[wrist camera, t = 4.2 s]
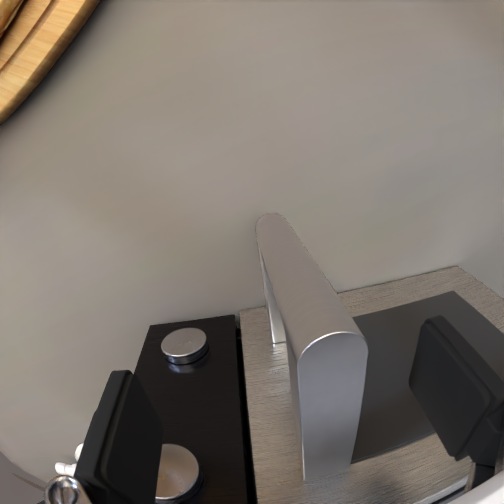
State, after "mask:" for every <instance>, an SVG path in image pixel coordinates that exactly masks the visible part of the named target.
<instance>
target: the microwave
mask: <svg viewBox="0 0 504 504" xmlns="http://www.w3.org/2000/svg"><path fill="white" fill-rule="evenodd" d="M134 374H136V375H137V377H138V378H139V380H140V382H141V384H142V386H143V388H144V390H145V392H146V394H147V396H148V398H149V400H150V402H151V403H152V405H153V407H154V409H155V411H156V412H157V414H158V416H159V418H160V420H161V421H162V423H163V426H164V437H163V444H162V451H161V458H160V465H159V473H158V481H157V489H156V497H155V504H258V503H257V494H256V485H255V476H254V466H253V457H252V447H251V437H250V427H249V416H248V406H247V395H246V384H245V373H244V362H243V350H242V339H241V329H237V324H236V319H235V315H227V316H220V317H213V318H206V319H199V320H191V321H184V322H176V323H168V324H159V325H151V326H150V327H149V330H148V333H147V336H146V339H145V342H144V345H143V348H142V351H141V354H140V357H139V360H138V363H137V366H136V369H135V372H134ZM465 486H466V485H465ZM465 486H463V487H461V488H460V489H458V490H456V491H454V492H452V493H451V494H449V495H447V496H445V497H443V498H441V499H439V500H437V501H435V502H433V503H431V504H447V503H449V502H451V501H453V500H454V499H456V498H458V497H460V496H462V495H463V493H464V490H465Z"/></svg>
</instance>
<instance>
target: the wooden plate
mask: <svg viewBox="0 0 504 504" xmlns="http://www.w3.org/2000/svg"><path fill="white" fill-rule="evenodd" d="M99 1H100V0H0V124H1V123H2V122H3V121H5V120H6V119H7V118H8V117H9V116H10V115H11V114H12V113H13V112H14V111H15V109H16V108H17V107H18V106H19V105H20V104H21V103H22V102H23V101H24V100H25V99H26V98H27V97H28V96H29V95H30V93H31V92H32V91H33V90H34V89H35V88H36V86H37V85H38V84H39V83H40V82H41V81H42V79H43V78H44V77H45V75H46V74H47V73H48V72H49V71H50V69H51V68H52V67H53V65H54V64H55V63H56V61H57V60H58V59H59V57H60V56H61V55H62V53H63V52H64V51H65V50H66V48H67V47H68V46H69V44H70V43H71V42H72V40H73V39H74V38H75V36H76V35H77V33H78V32H79V31H80V29H81V28H82V26H83V25H84V23H85V22H86V21H87V19H88V18H89V16H90V15H91V14H92V12H93V11H94V9H95V7H96V6H97V4H98V3H99Z"/></svg>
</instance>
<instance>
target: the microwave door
mask: <svg viewBox="0 0 504 504" xmlns="http://www.w3.org/2000/svg"><path fill="white" fill-rule="evenodd" d="M255 231H256V238H257V245H258V251H259V258H260V265H261V272H262V279H263V286H264V293H265V301H266V307H260V308H254V309H247V310H241V311H239V315H240V327H241V339H242V350H243V362H244V373H245V384H246V395H247V406H248V416H249V427H250V437H251V447H252V457H253V466H254V476H255V485H256V494H257V503H258V504H431V503H433V502H435V501H437V500H439V499H441V498H443V497H445V496H447V495H449V494H451V493H452V492H454V491H456V490H458V489H460V488H461V487H463V486H465V485H466V483H467V479H468V475H469V471H470V467H471V463H472V460H471V458H470V456H467V457H465V458H463V459H461V460H460V461H458V462H456V460H455V458H454V457H451V456H449V455H448V453H447V451H446V449H445V448H444V446H443V444H442V442H441V440H440V439H439V437H438V435H437V433H436V432H435V430H434V428H433V426H432V425H431V423H430V421H429V420H428V418H427V416H426V414H425V413H424V411H423V409H422V408H421V406H420V404H419V403H418V401H417V399H416V398H415V396H414V394H413V393H412V391H411V389H410V387H409V376H410V372H411V369H412V364H413V360H414V356H415V352H416V347H417V343H418V338H419V333H420V328H421V326H422V325H423V324H424V321H425V320H426V319H428V318H431V317H435V316H438V315H442V316H444V317H445V318H446V319H447V320H448V321H449V323H450V324H451V325H452V326H453V327H454V328H455V329H456V330H457V331H458V332H459V333H460V334H461V335H462V336H463V337H464V338H465V339H466V340H467V341H468V343H469V344H470V345H471V346H472V347H473V348H474V349H475V350H476V351H477V352H478V353H479V355H480V356H481V357H482V358H483V359H484V360H485V361H486V362H487V363H488V365H489V366H490V367H491V368H492V369H493V370H494V371H495V373H496V374H497V375H498V376H499V377H500V378H501V380H502V381H503V382H504V299H503V298H502V297H500V296H499V295H498V294H496V293H495V292H494V291H492V290H491V289H490V288H488V287H487V286H485V285H484V284H483V283H481V282H480V281H479V280H477V279H476V278H474V277H473V276H472V275H470V274H469V273H467V272H466V271H464V270H463V269H462V268H460V267H459V266H454V267H450V268H446V269H442V270H438V271H435V272H431V273H426V274H422V275H418V276H414V277H410V278H406V279H401V280H397V281H393V282H388V283H384V284H379V285H375V286H370V287H366V288H361V289H356V290H351V291H346V292H342V293H337V294H336V292H335V291H334V289H333V288H332V286H331V285H330V283H329V282H328V280H327V279H326V277H325V276H324V274H323V273H322V271H321V270H320V268H319V267H318V265H317V264H316V262H315V261H314V260H313V258H312V257H311V255H310V254H309V252H308V251H307V249H306V248H305V246H304V245H303V243H302V242H301V241H300V239H299V238H298V236H297V235H296V233H295V232H294V231H293V229H292V228H291V226H290V225H289V223H288V222H287V221H286V219H285V218H284V217H283V216H282V215H280V214H278V213H267V214H265V215H263V216H262V217H261V218H260V219H259V220H258V221H257V224H256V228H255Z"/></svg>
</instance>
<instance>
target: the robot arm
mask: <svg viewBox="0 0 504 504" xmlns="http://www.w3.org/2000/svg"><path fill="white" fill-rule="evenodd" d="M409 387H410V389H411V391H412V393H413V394H414V396H415V398H416V399H417V401H418V403H419V404H420V406H421V408H422V409H423V411H424V413H425V414H426V416H427V418H428V420H429V421H430V423H431V425H432V426H433V428H434V430H435V432H436V433H437V435H438V437H439V439H440V440H441V442H442V444H443V446H444V448H445V449H446V451H447V453H448V455H449V456H451V457H454V458H455V460H456V462H458V461H460V460H461V459H463V458H465V457H467V456H470V458H471V460H472V463H471V467H470V471H469V475H468V479H467V483H466V486H465V490H464V493H463V495H462V496H460V497H458V498H456V499H454V500H453V501H451V502H449V503H447V504H504V382H503V381H502V380H501V378H500V377H499V376H498V375H497V374H496V373H495V371H494V370H493V369H492V368H491V367H490V366H489V365H488V363H487V362H486V361H485V360H484V359H483V358H482V357H481V356H480V355H479V353H478V352H477V351H476V350H475V349H474V348H473V347H472V346H471V345H470V344H469V343H468V341H467V340H466V339H465V338H464V337H463V336H462V335H461V334H460V333H459V332H458V331H457V330H456V329H455V328H454V327H453V326H452V325H451V324H450V323H449V321H448V320H447V319H446V318H445V317H444V316H442V315H438V316H435V317H431V318H428V319H426V320H425V321H424V324H423V325H422V326H421V328H420V333H419V338H418V343H417V347H416V352H415V356H414V360H413V364H412V369H411V372H410V376H409ZM163 437H164V426H163V423H162V421H161V420H160V418H159V416H158V414H157V412H156V411H155V409H154V407H153V405H152V403H151V402H150V400H149V398H148V396H147V394H146V392H145V390H144V388H143V386H142V384H141V382H140V380H139V378H138V377H137V375H136V374H132V372H131V371H130V370H121V371H112V373H111V374H110V377H109V379H108V382H107V384H106V387H105V390H104V392H103V395H102V398H101V400H100V403H99V406H98V408H97V410H96V411H95V413H94V415H93V418H92V421H91V424H90V426H89V429H88V432H87V435H86V438H85V441H84V443H83V444H80V445H79V446H78V447H77V449H76V452H75V457H76V460H77V461H78V462H77V464H72V465H69V464H65V463H60V462H57V463H56V466H55V469H56V471H57V473H59V474H63V475H60V476H56V477H54V478H53V479H51V480H50V481H49V482H48V484H47V485H46V487H45V490H44V500H43V501H41V502H40V503H38V504H155V497H156V489H157V481H158V473H159V465H160V458H161V451H162V444H163ZM69 475H70V476H69Z"/></svg>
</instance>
